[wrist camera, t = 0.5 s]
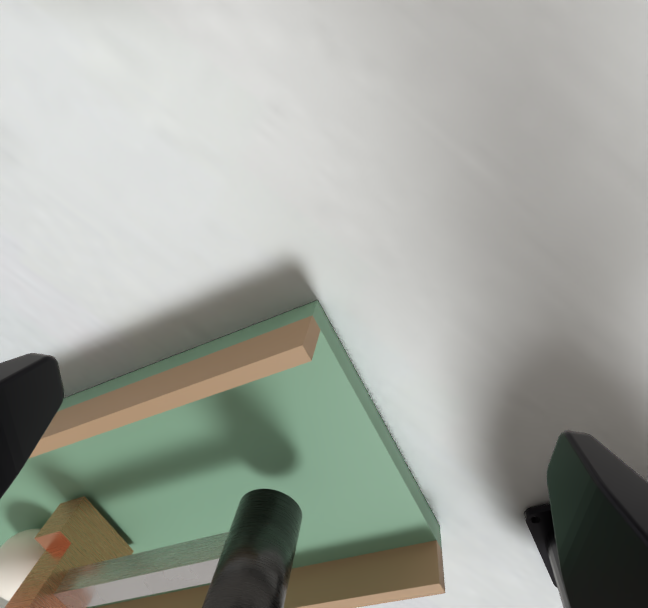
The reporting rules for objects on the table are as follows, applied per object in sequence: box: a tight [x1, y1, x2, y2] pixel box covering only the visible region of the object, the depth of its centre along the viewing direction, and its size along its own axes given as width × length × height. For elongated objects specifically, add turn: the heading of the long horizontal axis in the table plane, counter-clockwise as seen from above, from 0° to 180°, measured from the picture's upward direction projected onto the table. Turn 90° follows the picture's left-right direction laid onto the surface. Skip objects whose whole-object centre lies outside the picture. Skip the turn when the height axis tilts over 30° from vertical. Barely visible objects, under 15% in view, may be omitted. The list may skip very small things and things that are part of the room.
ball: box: [0, 529, 45, 601], centre depth 30 cm, size 4×4×4 cm
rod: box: [5, 489, 302, 608], centre depth 24 cm, size 5×16×9 cm, turn 116°
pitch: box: [0, 300, 445, 608], centre depth 29 cm, size 16×31×4 cm, turn 116°
